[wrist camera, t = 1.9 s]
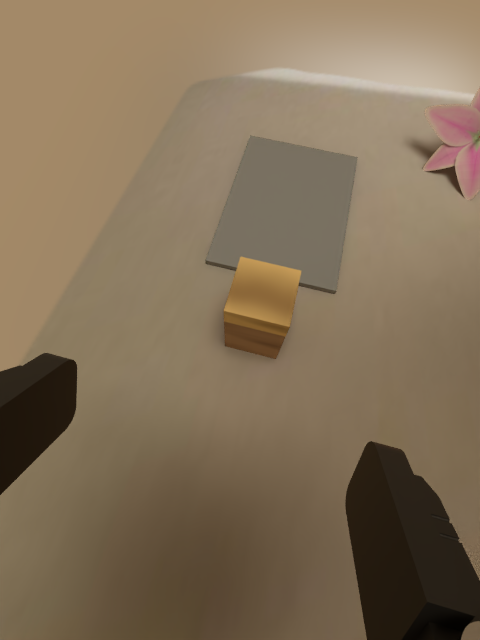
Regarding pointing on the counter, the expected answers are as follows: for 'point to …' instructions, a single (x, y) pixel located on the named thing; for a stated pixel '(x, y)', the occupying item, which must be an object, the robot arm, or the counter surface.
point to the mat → (287, 211)
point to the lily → (458, 142)
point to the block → (260, 306)
